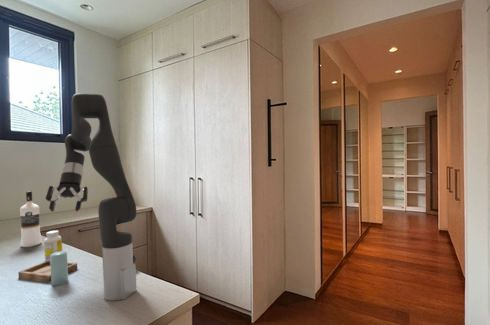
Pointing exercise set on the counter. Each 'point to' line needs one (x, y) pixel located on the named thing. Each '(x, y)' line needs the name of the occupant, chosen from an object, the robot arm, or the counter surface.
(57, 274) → the pale green capsule
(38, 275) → the tray
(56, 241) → the supplement bottle
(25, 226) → the vodka
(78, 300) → the counter surface
